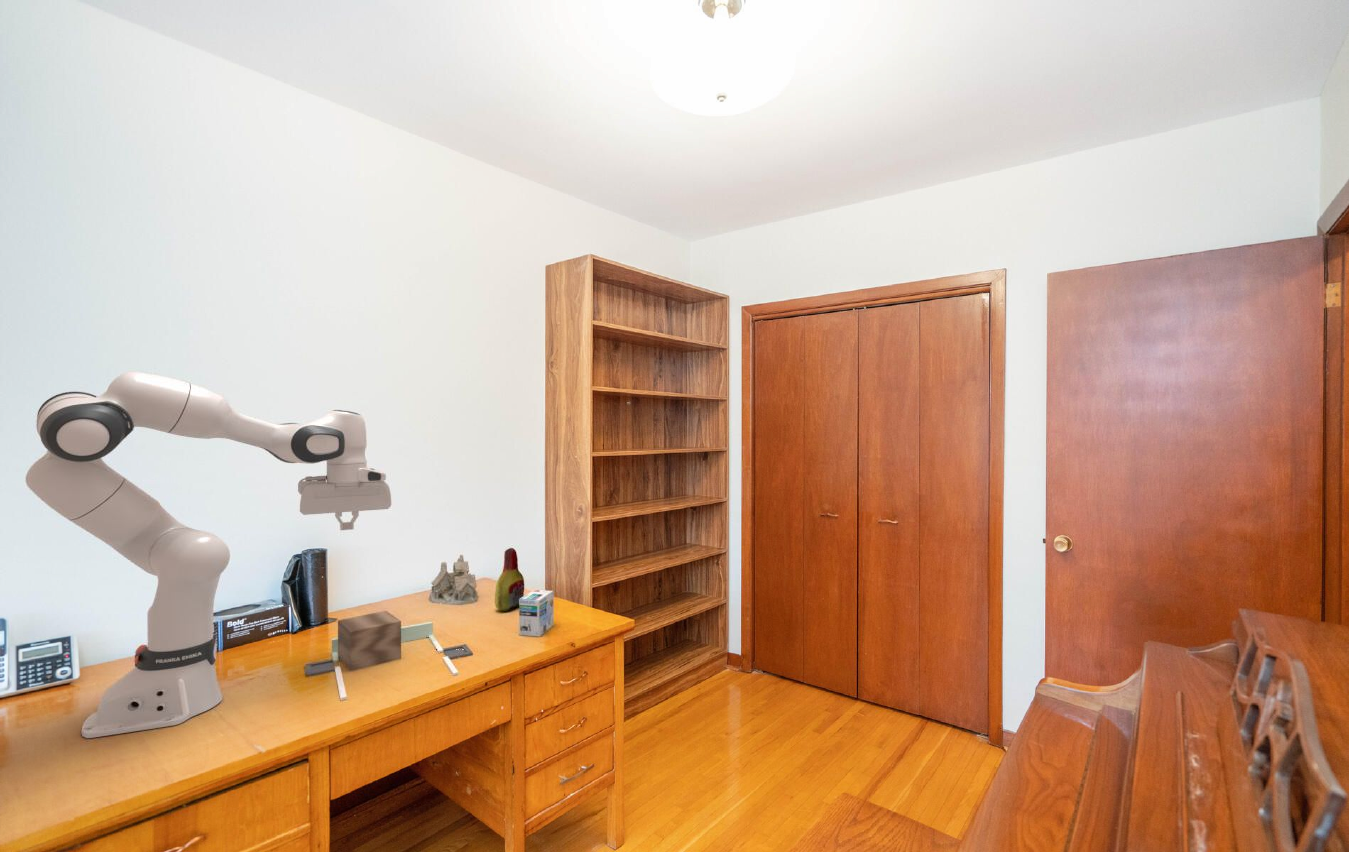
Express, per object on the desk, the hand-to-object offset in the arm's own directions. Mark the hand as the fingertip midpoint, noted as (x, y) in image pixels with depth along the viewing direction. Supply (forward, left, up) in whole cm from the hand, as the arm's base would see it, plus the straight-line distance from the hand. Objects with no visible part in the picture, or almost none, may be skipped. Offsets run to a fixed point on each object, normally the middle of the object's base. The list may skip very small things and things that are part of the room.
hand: (346, 529), depth 150 cm
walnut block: (+6, +5, -35) cm, 36 cm away
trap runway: (+10, -3, -35) cm, 37 cm away
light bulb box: (+50, +1, -35) cm, 61 cm away
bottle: (+50, +26, -35) cm, 67 cm away
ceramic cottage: (+36, +47, -36) cm, 69 cm away
